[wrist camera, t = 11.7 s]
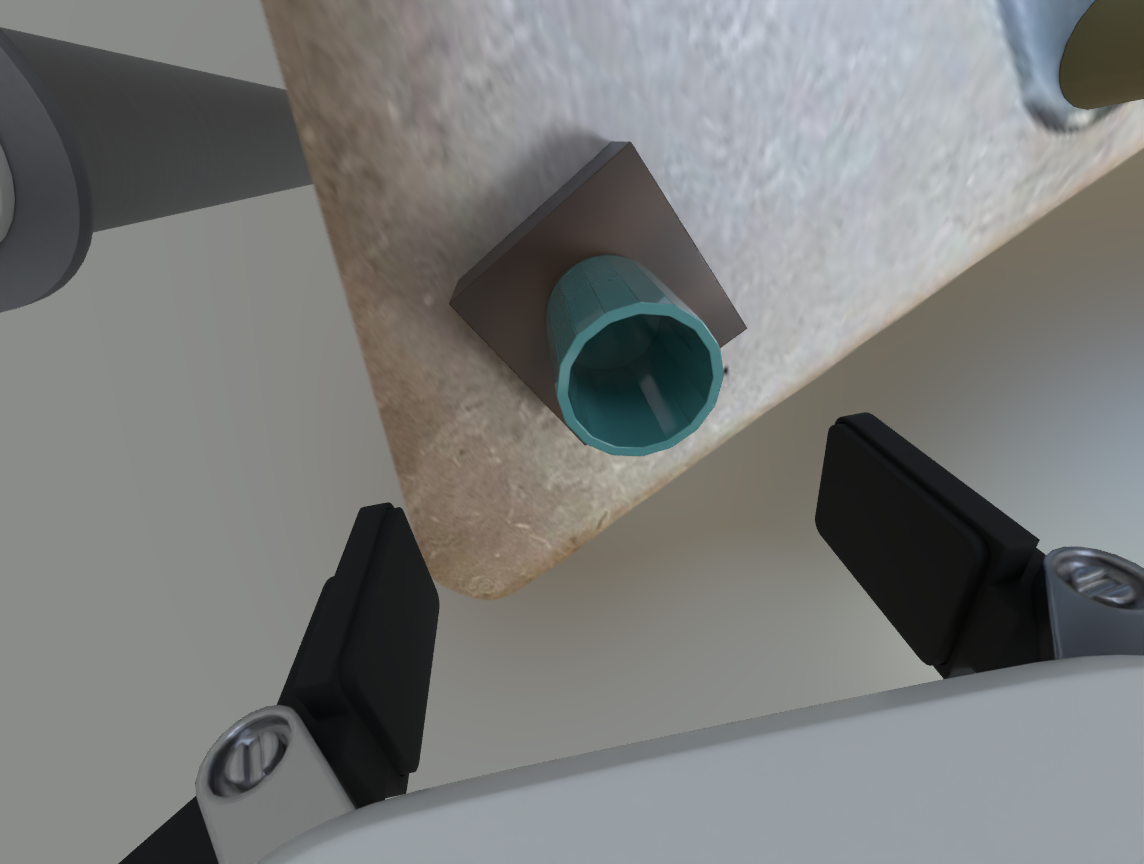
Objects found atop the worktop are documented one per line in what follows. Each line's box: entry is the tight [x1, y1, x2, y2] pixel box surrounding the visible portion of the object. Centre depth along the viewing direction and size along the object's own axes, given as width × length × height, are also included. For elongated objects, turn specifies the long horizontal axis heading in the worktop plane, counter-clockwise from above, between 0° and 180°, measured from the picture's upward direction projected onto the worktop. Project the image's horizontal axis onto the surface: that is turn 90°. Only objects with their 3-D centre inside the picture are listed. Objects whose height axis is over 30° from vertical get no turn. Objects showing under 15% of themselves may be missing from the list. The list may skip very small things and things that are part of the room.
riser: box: [449, 142, 747, 445], centre depth 30 cm, size 12×12×5 cm
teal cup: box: [545, 255, 724, 456], centre depth 24 cm, size 7×7×9 cm
